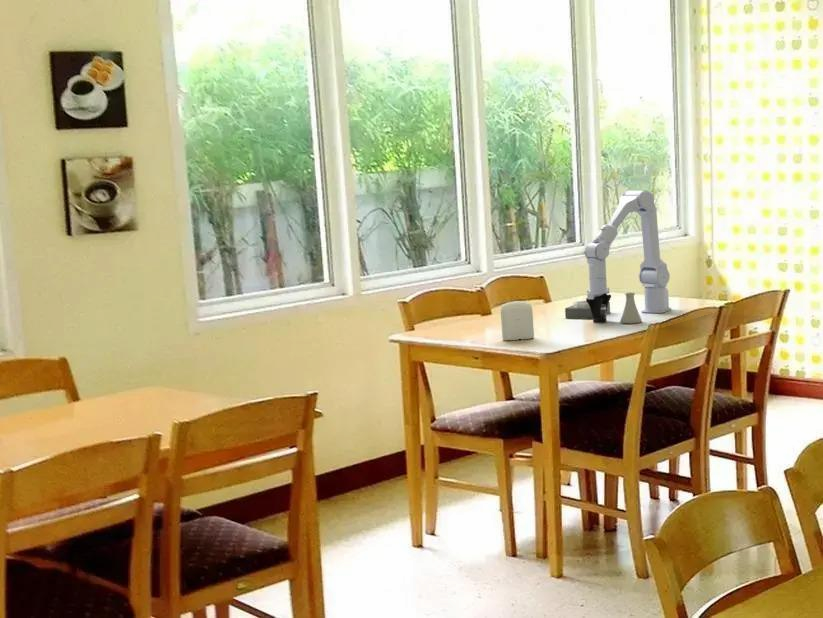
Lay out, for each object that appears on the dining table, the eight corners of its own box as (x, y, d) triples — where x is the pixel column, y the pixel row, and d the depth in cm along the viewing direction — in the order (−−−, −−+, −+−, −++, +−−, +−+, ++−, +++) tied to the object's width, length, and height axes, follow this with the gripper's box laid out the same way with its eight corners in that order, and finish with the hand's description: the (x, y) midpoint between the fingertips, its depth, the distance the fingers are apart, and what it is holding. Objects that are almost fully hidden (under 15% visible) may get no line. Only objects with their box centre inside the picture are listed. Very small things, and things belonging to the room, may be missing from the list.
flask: (641, 323, 407) (640, 294, 405) (619, 324, 408) (618, 295, 407) (642, 320, 414) (641, 291, 412) (620, 321, 415) (619, 292, 414)
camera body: (581, 311, 441) (581, 298, 440) (610, 312, 435) (609, 298, 434) (565, 318, 429) (564, 304, 429) (594, 318, 423) (593, 304, 423)
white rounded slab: (502, 341, 391) (500, 303, 389) (501, 339, 395) (499, 301, 393) (535, 339, 391) (532, 301, 389) (533, 337, 395) (531, 299, 393)
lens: (596, 320, 419) (595, 303, 418) (608, 321, 417) (608, 303, 416) (590, 323, 415) (589, 305, 414) (603, 323, 413) (602, 305, 412)
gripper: (595, 274, 422) (597, 313, 424) (578, 280, 410) (580, 320, 412) (614, 274, 418) (616, 314, 420) (597, 280, 406) (599, 320, 408)
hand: (599, 317), depth 416 cm, fingers open, 5 cm apart
